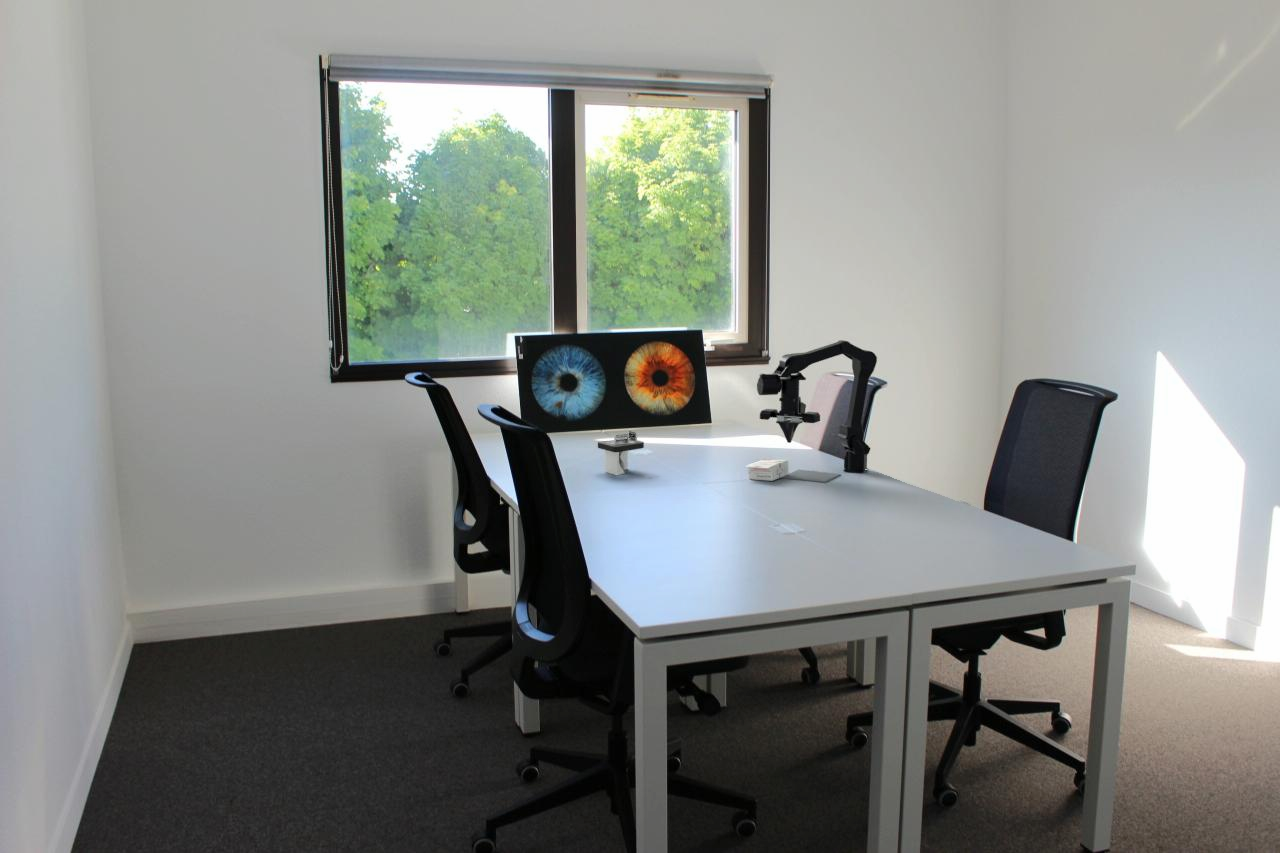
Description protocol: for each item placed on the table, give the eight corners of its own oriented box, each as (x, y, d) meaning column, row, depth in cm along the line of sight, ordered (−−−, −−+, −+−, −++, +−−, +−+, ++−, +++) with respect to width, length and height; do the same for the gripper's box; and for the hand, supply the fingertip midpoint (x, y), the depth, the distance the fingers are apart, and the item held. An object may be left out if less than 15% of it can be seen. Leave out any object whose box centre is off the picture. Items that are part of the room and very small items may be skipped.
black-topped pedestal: (607, 485, 336) (606, 442, 334) (564, 471, 357) (564, 431, 355) (680, 475, 351) (681, 434, 349) (636, 462, 373) (636, 424, 371)
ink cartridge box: (765, 473, 352) (744, 481, 340) (764, 458, 352) (743, 465, 340) (789, 475, 348) (768, 482, 336) (788, 459, 347) (768, 466, 335)
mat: (840, 475, 349) (840, 473, 349) (825, 482, 337) (825, 481, 337) (798, 470, 356) (798, 469, 356) (781, 478, 344) (781, 476, 344)
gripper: (826, 393, 349) (825, 441, 351) (773, 389, 358) (772, 436, 361) (814, 397, 339) (813, 446, 342) (759, 393, 349) (758, 441, 351)
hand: (789, 442), depth 349 cm, fingers closed
